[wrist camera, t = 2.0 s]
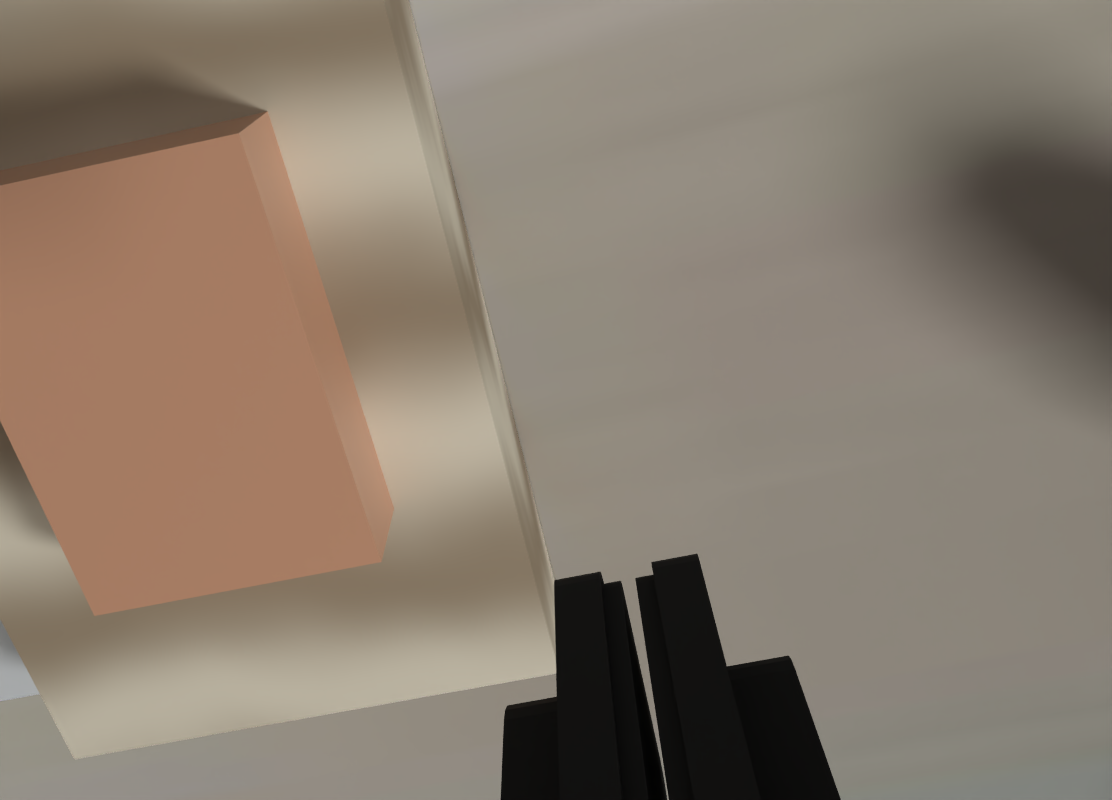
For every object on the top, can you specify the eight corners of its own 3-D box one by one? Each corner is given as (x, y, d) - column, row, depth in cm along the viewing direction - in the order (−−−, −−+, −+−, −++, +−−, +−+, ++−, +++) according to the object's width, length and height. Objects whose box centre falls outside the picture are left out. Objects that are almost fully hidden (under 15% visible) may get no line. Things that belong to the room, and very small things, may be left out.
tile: (-42, 179, 23) (-103, 207, 21) (267, 111, 22) (239, 133, 20) (129, 559, 27) (94, 616, 25) (394, 508, 27) (381, 562, 24)
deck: (-234, -79, 24) (-370, -77, 21) (353, -221, 23) (319, -244, 20) (124, 667, 33) (74, 759, 30) (556, 587, 32) (558, 673, 29)
